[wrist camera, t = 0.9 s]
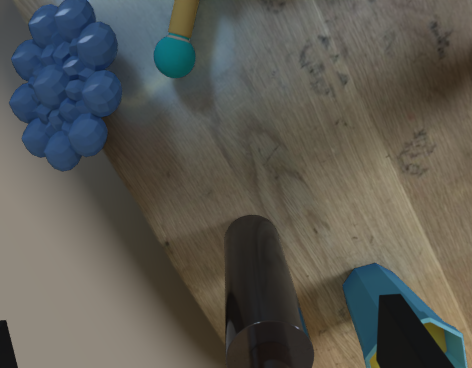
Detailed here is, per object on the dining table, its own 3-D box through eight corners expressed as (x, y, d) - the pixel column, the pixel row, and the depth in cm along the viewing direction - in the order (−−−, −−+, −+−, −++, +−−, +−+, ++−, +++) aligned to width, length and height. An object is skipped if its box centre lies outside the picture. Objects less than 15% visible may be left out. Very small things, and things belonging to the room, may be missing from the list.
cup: (444, 320, 43) (557, 455, 29) (379, 362, 44) (455, 511, 30) (368, 218, 39) (453, 313, 25) (299, 266, 41) (342, 384, 26)
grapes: (52, 34, 38) (75, 169, 39) (-28, 21, 32) (2, 179, 33) (149, -7, 32) (173, 155, 33) (70, -33, 26) (103, 165, 27)
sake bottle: (236, 206, 39) (257, 434, 16) (287, 225, 39) (378, 469, 16) (216, 254, 40) (208, 528, 17) (265, 271, 41) (322, 557, 18)
